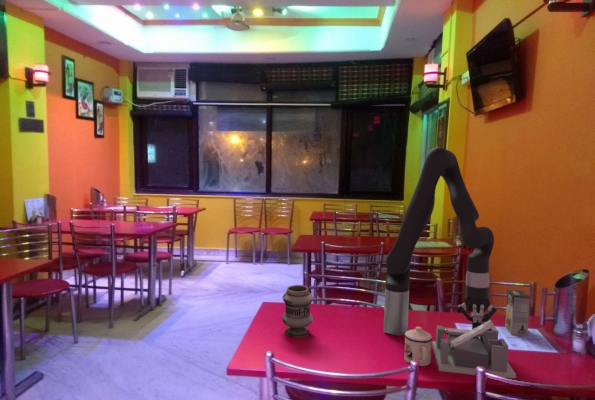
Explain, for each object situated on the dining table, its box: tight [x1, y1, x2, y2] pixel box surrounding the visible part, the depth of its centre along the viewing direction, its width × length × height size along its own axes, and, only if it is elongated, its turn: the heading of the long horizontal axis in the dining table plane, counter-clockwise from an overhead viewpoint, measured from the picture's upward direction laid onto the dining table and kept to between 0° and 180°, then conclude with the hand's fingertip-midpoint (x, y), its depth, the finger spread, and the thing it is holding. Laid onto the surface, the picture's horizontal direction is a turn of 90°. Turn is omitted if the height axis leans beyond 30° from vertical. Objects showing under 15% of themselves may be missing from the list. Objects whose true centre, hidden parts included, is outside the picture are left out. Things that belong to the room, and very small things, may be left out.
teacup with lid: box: [404, 326, 433, 367], centre depth 141 cm, size 12×9×12 cm
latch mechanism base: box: [431, 325, 517, 379], centre depth 143 cm, size 23×20×10 cm
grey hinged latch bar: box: [443, 326, 483, 338], centre depth 149 cm, size 16×3×2 cm, turn 78°
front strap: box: [448, 319, 497, 349], centre depth 137 cm, size 16×3×2 cm
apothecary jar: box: [281, 284, 314, 338], centre depth 165 cm, size 12×12×18 cm
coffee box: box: [504, 289, 531, 337], centre depth 170 cm, size 9×6×16 cm
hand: (476, 332), depth 148 cm, fingers closed
